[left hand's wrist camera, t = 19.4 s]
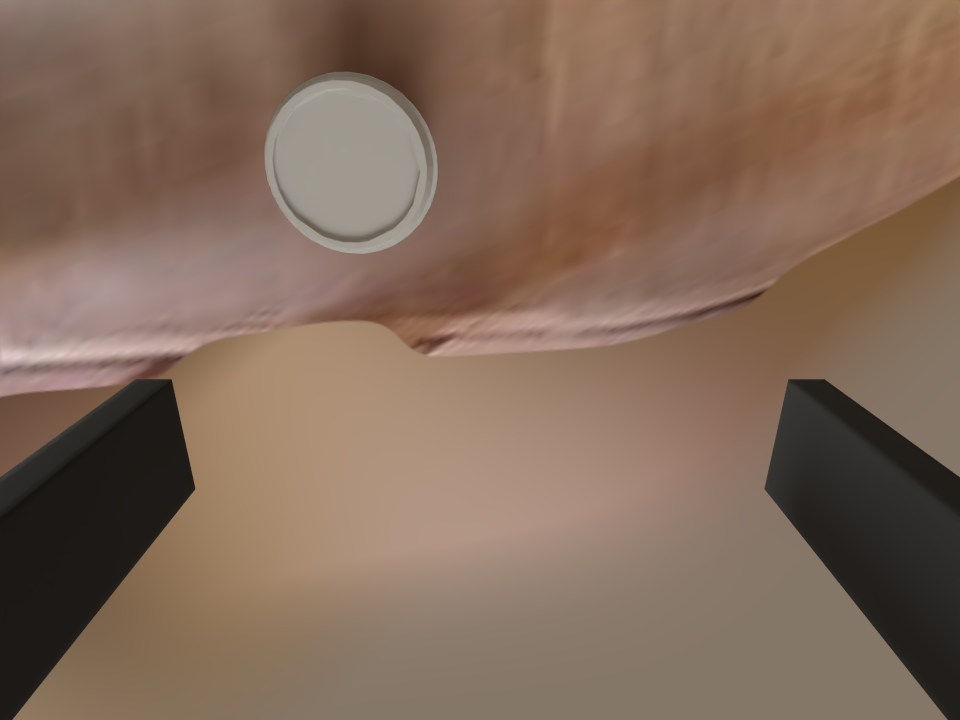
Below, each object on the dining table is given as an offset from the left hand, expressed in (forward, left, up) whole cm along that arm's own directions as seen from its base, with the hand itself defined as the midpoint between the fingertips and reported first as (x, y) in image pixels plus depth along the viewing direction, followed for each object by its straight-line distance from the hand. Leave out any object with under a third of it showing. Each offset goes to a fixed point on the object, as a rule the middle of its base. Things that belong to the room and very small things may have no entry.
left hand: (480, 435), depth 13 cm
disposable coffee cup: (-4, +7, -33) cm, 34 cm away
